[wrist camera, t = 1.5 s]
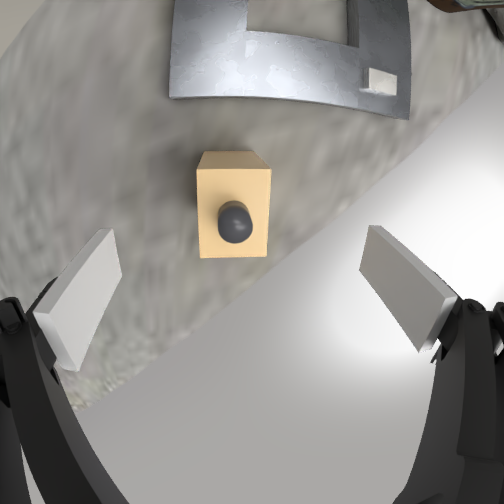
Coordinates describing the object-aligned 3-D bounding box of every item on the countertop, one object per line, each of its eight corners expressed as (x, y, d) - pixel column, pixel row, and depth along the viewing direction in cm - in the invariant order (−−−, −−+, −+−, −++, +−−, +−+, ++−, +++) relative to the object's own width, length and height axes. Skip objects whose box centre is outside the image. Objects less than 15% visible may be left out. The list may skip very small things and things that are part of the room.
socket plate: (173, 99, 21) (166, 97, 18) (189, -62, 12) (186, -78, 9) (395, 118, 24) (414, 121, 21) (390, -29, 14) (406, -38, 11)
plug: (205, 212, 27) (198, 273, 17) (204, 151, 24) (193, 176, 14) (251, 212, 27) (271, 271, 17) (253, 151, 24) (277, 176, 15)
